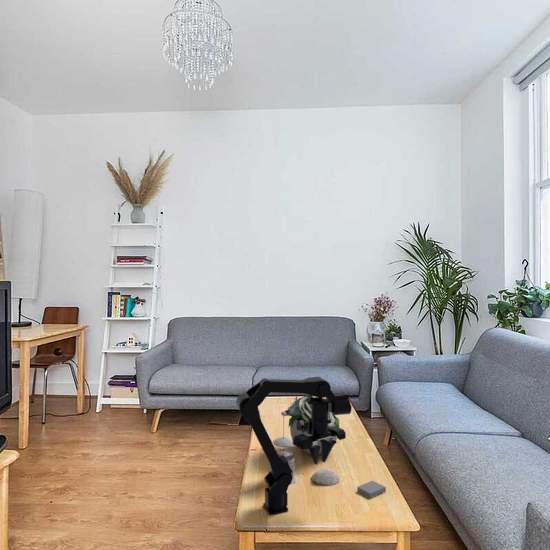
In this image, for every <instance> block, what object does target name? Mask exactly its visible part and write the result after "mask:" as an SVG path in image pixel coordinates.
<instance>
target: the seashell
mask: <svg viewBox="0 0 550 550" xmlns="http://www.w3.org/2000/svg"><path fill="white" fill-rule="evenodd" d="M311 480H312V481H313V482H314V481H315V482H314V483H316V484H318V485H324V486H333V484H334V485H337V484H338V483H340V478H339V476H338V475H337V474H336V473H335V472H334V471H333V470H331V469H328V468H319V469H318V470H316V471H315V472H314V473H313V474H312V476H311Z"/></svg>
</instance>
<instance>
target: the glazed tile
mask: <svg viewBox="0 0 550 550" xmlns="http://www.w3.org/2000/svg"><path fill="white" fill-rule="evenodd" d="M356 489H357V491H356V492H357V493H359V492H360V494H361V493H362V494H361V495H363V494H364V496H365V495H366V496H365V497H367V496H368V497H367V498H369V497H370V498H369V499H372V497H373V498H374V496H375V497H376V495H377V496H379V495H381V494H380V493H382V492H384V493H386V492H387V487H386V486H384V485H382V484H381V483H378V482H377V481H375V480H370V481H369V482H366V483H364V484H361V485H358V486H357V488H356ZM385 491H386V492H385ZM378 494H379V495H378ZM382 494H383V493H382Z"/></svg>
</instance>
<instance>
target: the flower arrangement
mask: <svg viewBox="0 0 550 550" xmlns="http://www.w3.org/2000/svg"><path fill="white" fill-rule="evenodd" d="M309 396H310V395H308V394H306V395H305V396H302V397H299V398H298V396H295V398H294V401H293V402H292V404H291V405H290V406H289V407H288V408H287V409H285V410H284V412H286V415H285V416H284V417H287V416H289V417H290V418H289V420H288V429H289V431H290V432H289V433H290V436H291V439H292V440H293V437H294V436H296V435H300V434H304V435H306V436H308V437H309V436H311V434H308V433H307V432H303V433H302V432H301V431H298V430H297V426H296V425H297V421H300V420H303V421H304V422H308V419H309V418H311V404H308V403H307V402H305V400H306V399H307V398H308V397H309ZM312 397H315V396H312ZM322 399H327V398H326V397H325V398H322ZM328 419H329V420H331V423H329V424H328V428H329V427H333V426H336V427H339V428H340V419H339V418H338V417H337V416H336V415H332V413H331V412H329V410H328ZM334 440H335V441H336V442H337V440H338V438H337V436H334ZM317 445H318V446H320V452H319V455H322V444H321V442H320V440H319V441H317ZM303 451H304V453H306V454H308V455H311V453H310V450H309V449H305V450H303Z"/></svg>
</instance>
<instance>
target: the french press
mask: <svg viewBox="0 0 550 550" xmlns="http://www.w3.org/2000/svg"><path fill="white" fill-rule="evenodd" d="M280 414H281V416H282V418H283V421H282V423H283V424H282V425H283V427H282V428H283V430H282V431H283V434H282V436H281V437H277V438H275V439H273V441H272V443H273V445H274V447H278V448H283V449H275V450H276V452H277V454H278V455H279V457H280V456H282V455H284V457H285V458H286V460H287V461H288V463H289V466H290V468H291V469H292V471H293V473H291V474H292V476H293V480H292V482H291V485H293V484H295V483H296V482H297V480H296V479H297V477H296V476H295V462H294V461H295V456H294V453H293V451H292V450H289V449H285V448H289V447H292V446H294V445H293V440H292V438H290V437H287V436H285V417H286V416H285V415H286V412H285V411H281V413H280ZM295 481H296V482H295ZM294 482H295V483H294ZM292 483H293V484H292Z"/></svg>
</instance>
